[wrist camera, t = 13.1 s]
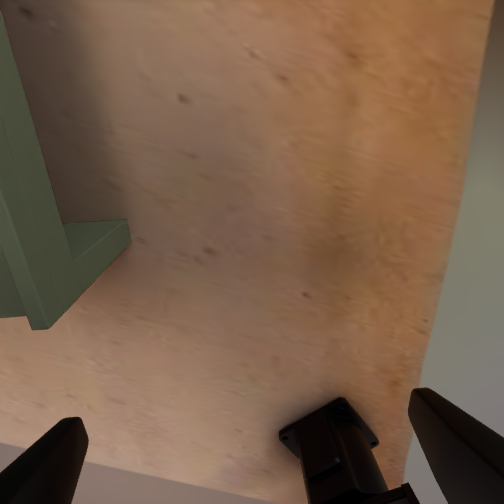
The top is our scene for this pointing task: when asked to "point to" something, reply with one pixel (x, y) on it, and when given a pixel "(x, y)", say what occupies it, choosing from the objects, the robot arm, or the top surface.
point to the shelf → (40, 219)
